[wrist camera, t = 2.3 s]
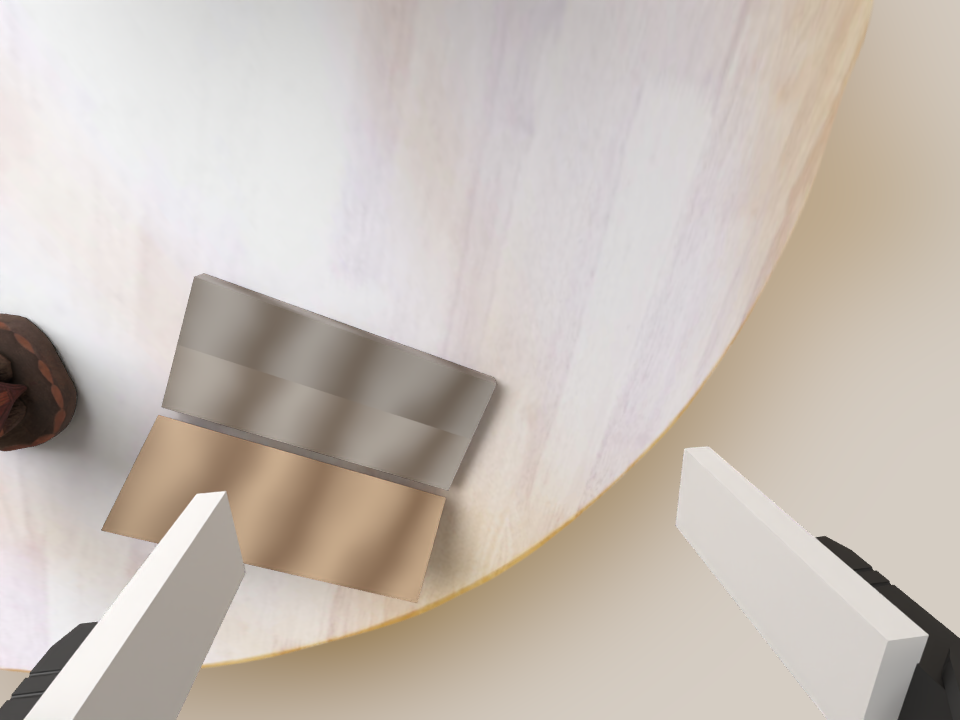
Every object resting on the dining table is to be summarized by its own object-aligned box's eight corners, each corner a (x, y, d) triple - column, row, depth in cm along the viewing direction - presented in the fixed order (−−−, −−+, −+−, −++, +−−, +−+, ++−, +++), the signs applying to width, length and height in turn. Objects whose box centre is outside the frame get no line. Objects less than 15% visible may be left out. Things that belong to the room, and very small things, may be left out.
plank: (109, 528, 33) (101, 530, 31) (164, 417, 35) (158, 414, 34) (413, 598, 38) (417, 603, 36) (441, 497, 40) (446, 497, 39)
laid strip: (171, 398, 36) (161, 407, 34) (203, 273, 33) (194, 276, 32) (447, 480, 41) (448, 490, 39) (493, 377, 38) (496, 384, 37)
